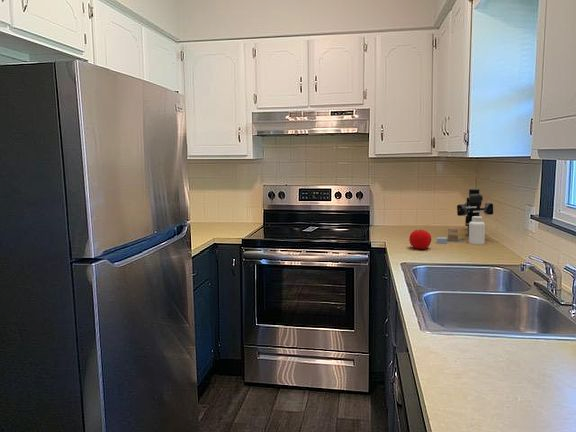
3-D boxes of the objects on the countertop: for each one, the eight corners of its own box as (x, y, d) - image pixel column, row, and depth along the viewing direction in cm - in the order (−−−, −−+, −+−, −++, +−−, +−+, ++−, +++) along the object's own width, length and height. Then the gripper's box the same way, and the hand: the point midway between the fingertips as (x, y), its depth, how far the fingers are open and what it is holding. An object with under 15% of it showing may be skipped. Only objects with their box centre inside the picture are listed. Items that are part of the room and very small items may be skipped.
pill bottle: (483, 242, 256) (484, 215, 254) (485, 245, 249) (486, 217, 247) (468, 242, 258) (468, 215, 257) (469, 245, 251) (470, 217, 249)
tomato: (417, 251, 237) (417, 231, 236) (404, 247, 249) (404, 228, 248) (436, 249, 240) (436, 230, 239) (423, 245, 252) (423, 227, 251)
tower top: (448, 233, 265) (448, 227, 265) (457, 233, 264) (457, 227, 263) (448, 234, 260) (448, 228, 260) (457, 235, 259) (457, 228, 258)
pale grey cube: (437, 243, 259) (437, 237, 259) (446, 243, 258) (446, 237, 257) (437, 244, 255) (437, 238, 254) (446, 245, 253) (446, 238, 253)
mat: (440, 239, 270) (440, 238, 270) (462, 240, 266) (462, 239, 266) (440, 242, 259) (440, 241, 259) (463, 243, 256) (463, 242, 256)
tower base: (447, 239, 266) (448, 233, 265) (457, 239, 264) (457, 233, 264) (448, 241, 261) (448, 234, 260) (457, 241, 259) (457, 235, 259)
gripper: (456, 194, 269) (456, 198, 255) (491, 192, 263) (494, 196, 249) (457, 213, 271) (457, 218, 257) (491, 211, 265) (494, 217, 250)
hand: (475, 212), depth 253 cm, fingers open, 9 cm apart
